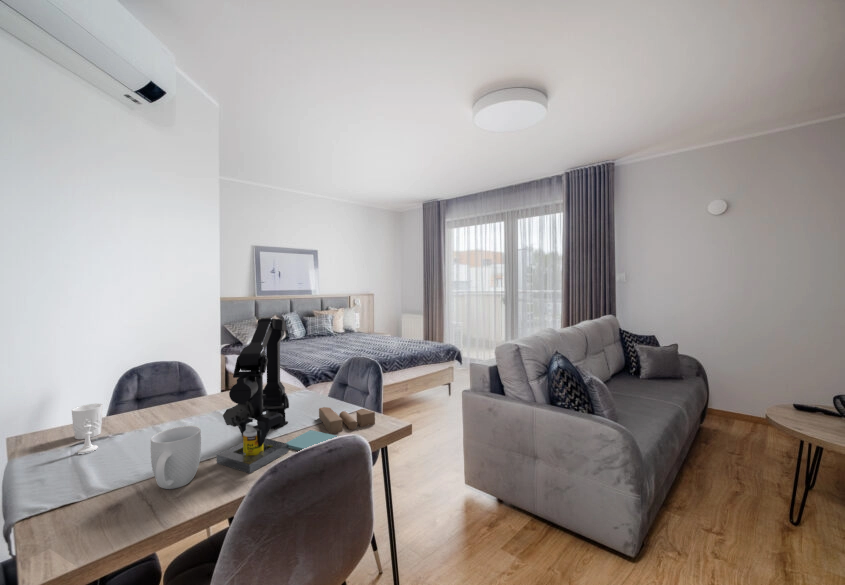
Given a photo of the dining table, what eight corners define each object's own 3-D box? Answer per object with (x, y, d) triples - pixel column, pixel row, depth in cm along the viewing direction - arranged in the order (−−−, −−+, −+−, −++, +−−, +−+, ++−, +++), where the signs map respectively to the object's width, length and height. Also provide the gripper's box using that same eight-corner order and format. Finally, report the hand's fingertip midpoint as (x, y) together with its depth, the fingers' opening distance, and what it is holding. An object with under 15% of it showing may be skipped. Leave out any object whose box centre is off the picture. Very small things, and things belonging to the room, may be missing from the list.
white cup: (67, 438, 123) (66, 409, 122) (95, 429, 130) (94, 402, 130) (80, 441, 120) (79, 412, 120) (108, 432, 127) (107, 405, 127)
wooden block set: (330, 419, 124) (318, 405, 140) (330, 436, 124) (318, 419, 140) (375, 410, 132) (359, 397, 148) (376, 425, 132) (359, 411, 148)
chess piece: (101, 449, 114) (100, 418, 114) (81, 455, 110) (80, 423, 110) (93, 446, 116) (92, 415, 116) (73, 452, 112) (72, 421, 112)
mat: (284, 446, 115) (284, 443, 115) (310, 432, 126) (310, 429, 126) (312, 454, 110) (312, 450, 110) (337, 438, 120) (337, 435, 120)
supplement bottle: (244, 463, 104) (244, 428, 104) (242, 456, 109) (241, 422, 108) (265, 458, 107) (264, 424, 107) (262, 451, 112) (261, 419, 112)
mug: (185, 500, 86) (184, 447, 86) (133, 506, 84) (132, 452, 84) (208, 469, 101) (207, 423, 101) (163, 474, 99) (162, 427, 98)
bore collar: (216, 462, 105) (216, 454, 105) (257, 443, 117) (256, 436, 117) (249, 473, 99) (249, 464, 99) (288, 451, 111) (288, 443, 111)
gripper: (206, 396, 104) (207, 449, 105) (251, 405, 96) (252, 462, 97) (240, 386, 114) (241, 434, 115) (283, 393, 106) (284, 445, 107)
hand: (253, 444), depth 108 cm, fingers closed on supplement bottle, 5 cm apart
